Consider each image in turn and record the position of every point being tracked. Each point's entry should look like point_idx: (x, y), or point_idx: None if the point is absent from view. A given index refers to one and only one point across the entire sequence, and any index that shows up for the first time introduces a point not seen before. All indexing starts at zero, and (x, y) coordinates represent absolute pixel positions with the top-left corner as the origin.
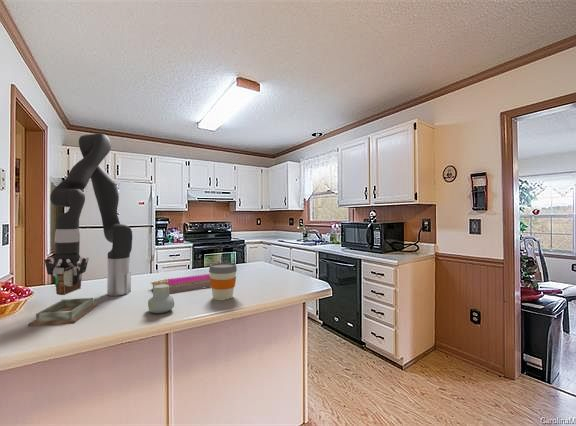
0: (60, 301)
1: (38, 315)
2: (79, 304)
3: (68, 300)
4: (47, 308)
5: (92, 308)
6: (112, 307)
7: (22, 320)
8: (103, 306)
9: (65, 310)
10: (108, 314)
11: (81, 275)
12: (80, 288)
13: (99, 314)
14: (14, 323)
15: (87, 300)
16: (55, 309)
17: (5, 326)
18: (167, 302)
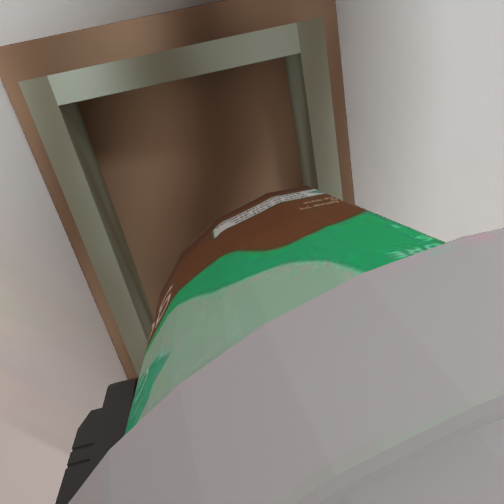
0: (66, 160)
1: None
2: (204, 75)
3: (99, 95)
4: (133, 339)
5: (344, 125)
6: (470, 64)
7: (14, 348)
8: (388, 34)
9: (177, 203)
10: (490, 219)
11: (392, 232)
12: (306, 188)
13: (436, 221)
14: (20, 389)
15: (318, 122)
16: (121, 243)
17: (19, 426)
18: None
